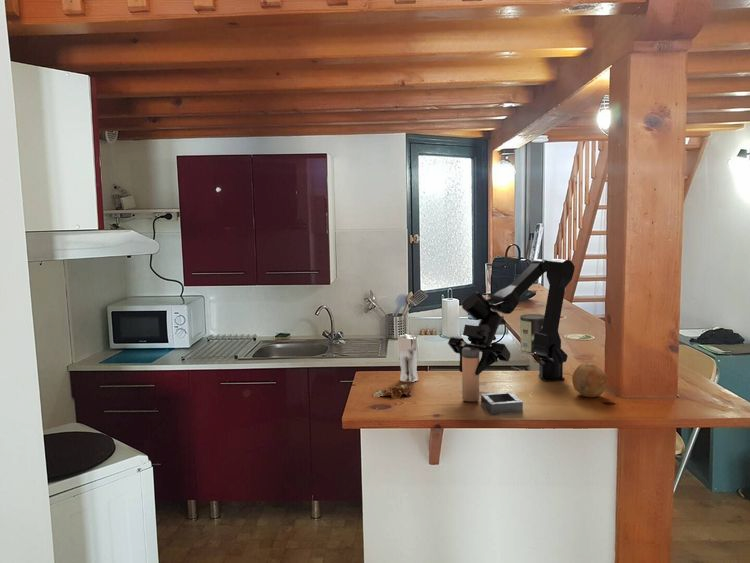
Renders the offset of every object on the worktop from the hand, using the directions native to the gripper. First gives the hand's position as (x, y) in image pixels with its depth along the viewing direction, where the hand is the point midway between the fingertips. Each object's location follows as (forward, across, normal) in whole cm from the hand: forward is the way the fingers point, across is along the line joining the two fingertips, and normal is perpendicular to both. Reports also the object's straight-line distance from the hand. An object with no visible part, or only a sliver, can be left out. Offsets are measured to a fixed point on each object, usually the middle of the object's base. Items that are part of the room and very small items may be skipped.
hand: (468, 372), depth 163 cm
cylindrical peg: (+5, 0, +7) cm, 8 cm away
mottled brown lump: (+12, -23, +1) cm, 26 cm away
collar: (+5, +10, +7) cm, 14 cm away
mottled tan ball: (-11, +26, +24) cm, 37 cm away
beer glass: (+1, -28, +12) cm, 30 cm away
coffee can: (-38, -10, +52) cm, 65 cm away
